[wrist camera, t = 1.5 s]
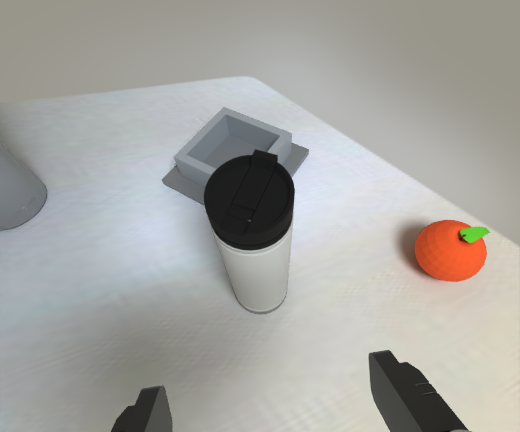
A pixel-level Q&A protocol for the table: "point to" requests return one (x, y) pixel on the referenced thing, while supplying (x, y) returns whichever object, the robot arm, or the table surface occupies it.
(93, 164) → the table surface
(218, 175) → the travel mug
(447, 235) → the clementine
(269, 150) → the mug dock
